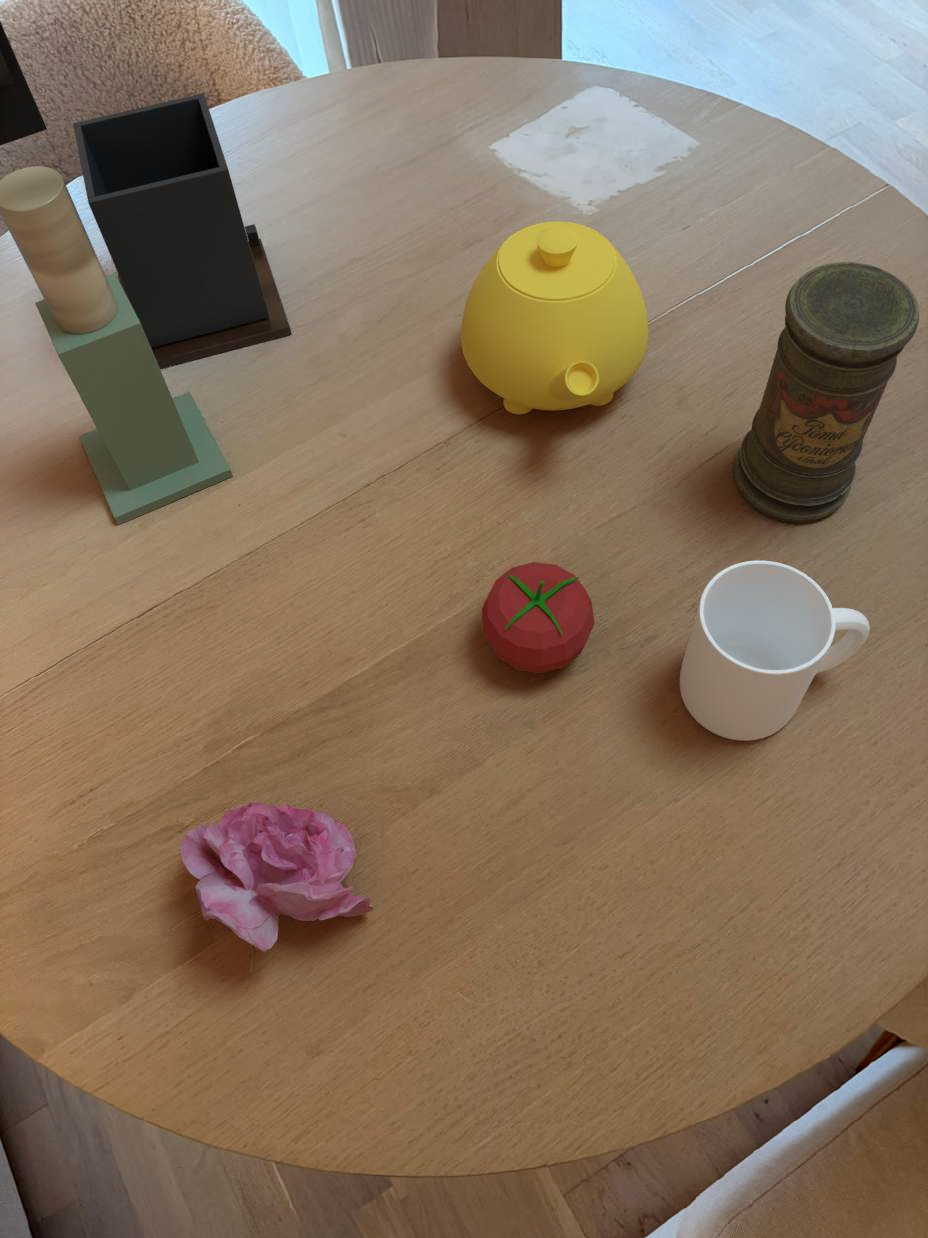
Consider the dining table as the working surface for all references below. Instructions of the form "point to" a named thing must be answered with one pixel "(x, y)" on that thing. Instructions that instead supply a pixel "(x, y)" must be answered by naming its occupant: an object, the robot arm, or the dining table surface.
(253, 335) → the bin stand
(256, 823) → the flower
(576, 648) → the tomato
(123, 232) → the bin
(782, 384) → the container
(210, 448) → the pedestal
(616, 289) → the teapot
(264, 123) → the dining table surface
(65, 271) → the cylinder
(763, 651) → the mug
